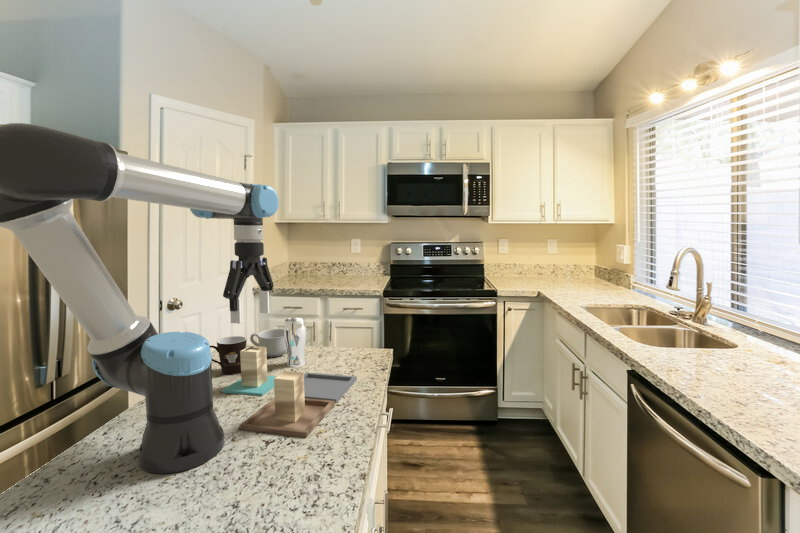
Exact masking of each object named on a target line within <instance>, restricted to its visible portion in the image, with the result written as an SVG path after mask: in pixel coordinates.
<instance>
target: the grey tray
mask: <svg viewBox="0 0 800 533" xmlns="http://www.w3.org/2000/svg"><path fill="white" fill-rule="evenodd" d="M357 377H358V376H355V375H344V374H343V375H342V374H332V373H322V372H321V373H319V372H309V371H308V372H307V371H306V372H305V373H304V395H305V398H309V399H319V400H330V401H335V404H337V403H338V402H339V401H340V400H341V398H342V397H343V396H344V395H345V394H346V393H347V392H348V391H349V390H350V389H351V387H352V386H353V385H354V384H355V383H356V382H357V379H358V378H357Z"/></svg>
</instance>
